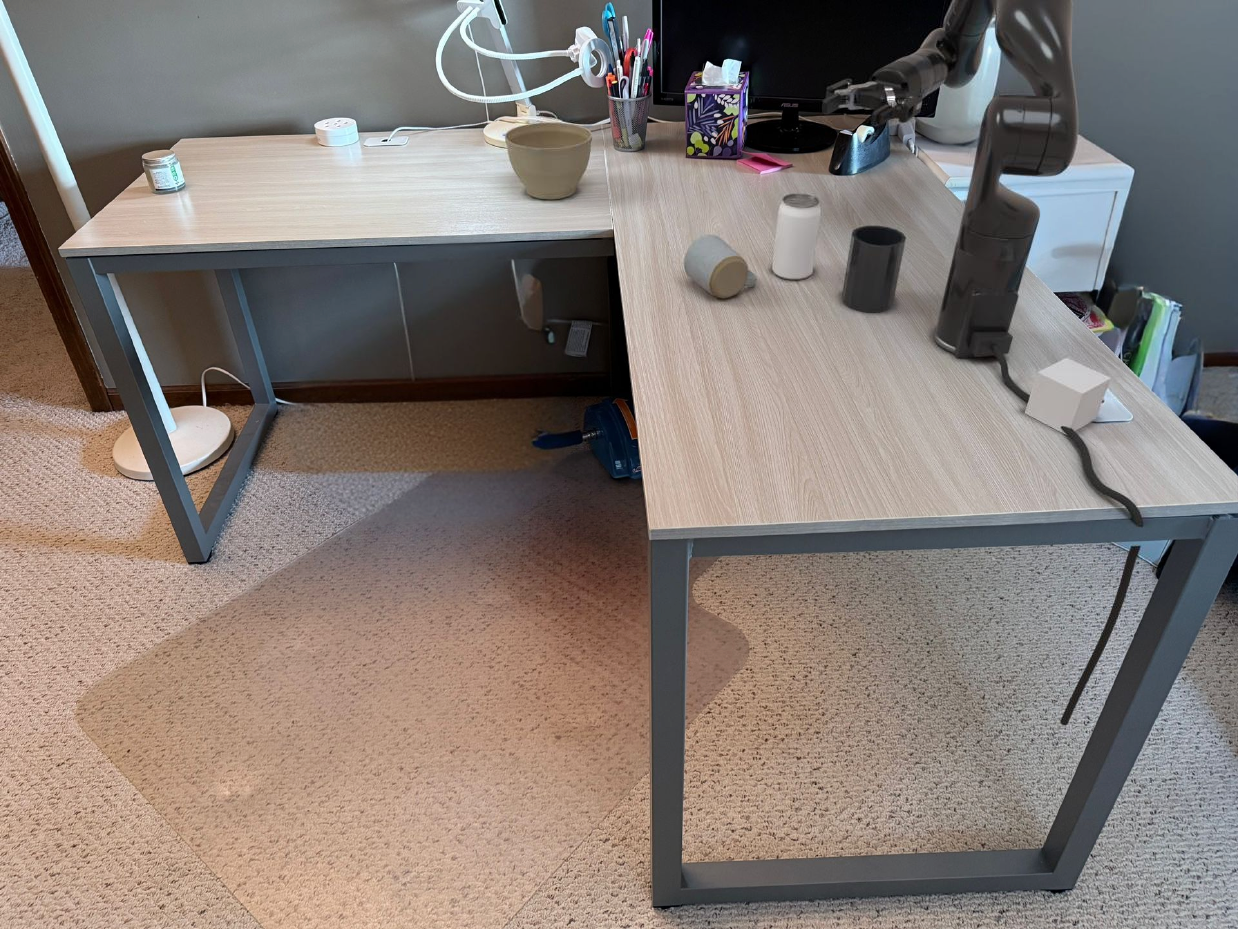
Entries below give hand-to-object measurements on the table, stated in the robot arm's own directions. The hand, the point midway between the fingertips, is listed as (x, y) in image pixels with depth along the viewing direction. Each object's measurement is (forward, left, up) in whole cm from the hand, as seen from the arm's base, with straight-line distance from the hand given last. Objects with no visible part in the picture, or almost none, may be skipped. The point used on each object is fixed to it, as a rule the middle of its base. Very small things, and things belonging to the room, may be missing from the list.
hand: (849, 113), depth 139 cm
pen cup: (-18, -2, -23) cm, 29 cm away
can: (-7, +8, -23) cm, 25 cm away
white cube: (-50, -18, -23) cm, 58 cm away
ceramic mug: (-12, +20, -23) cm, 32 cm away
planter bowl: (+30, +47, -23) cm, 60 cm away
